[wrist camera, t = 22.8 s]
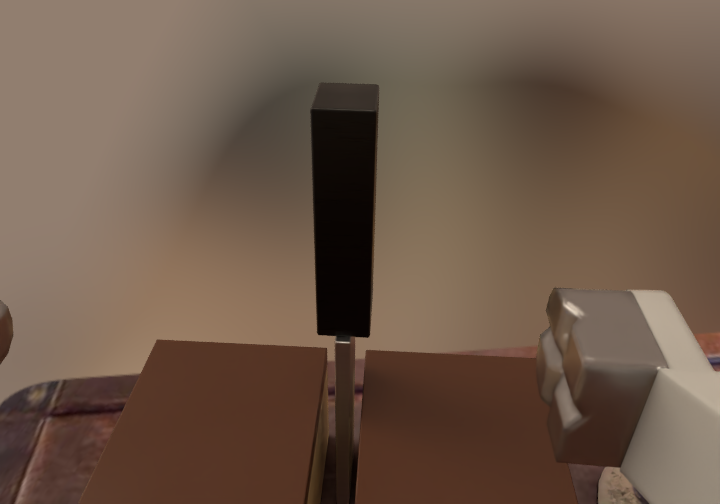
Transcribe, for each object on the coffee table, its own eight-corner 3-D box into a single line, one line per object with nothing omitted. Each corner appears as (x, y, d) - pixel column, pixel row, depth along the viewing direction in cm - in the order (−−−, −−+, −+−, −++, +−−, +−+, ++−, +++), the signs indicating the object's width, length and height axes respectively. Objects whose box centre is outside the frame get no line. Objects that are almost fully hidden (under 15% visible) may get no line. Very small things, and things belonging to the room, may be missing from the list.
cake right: (351, 617, 25) (352, 528, 22) (363, 436, 33) (365, 349, 29) (555, 630, 25) (589, 542, 21) (520, 444, 32) (540, 357, 29)
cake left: (109, 601, 25) (73, 511, 22) (175, 426, 33) (156, 339, 30) (306, 614, 25) (300, 524, 22) (328, 434, 33) (326, 347, 29)
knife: (321, 503, 29) (308, 111, 19) (327, 451, 32) (319, 78, 21) (364, 506, 29) (376, 114, 19) (367, 453, 32) (379, 80, 21)
